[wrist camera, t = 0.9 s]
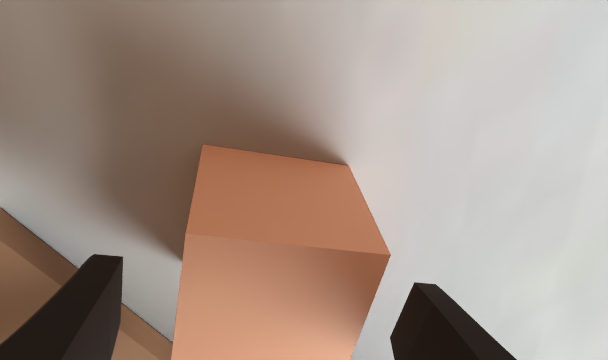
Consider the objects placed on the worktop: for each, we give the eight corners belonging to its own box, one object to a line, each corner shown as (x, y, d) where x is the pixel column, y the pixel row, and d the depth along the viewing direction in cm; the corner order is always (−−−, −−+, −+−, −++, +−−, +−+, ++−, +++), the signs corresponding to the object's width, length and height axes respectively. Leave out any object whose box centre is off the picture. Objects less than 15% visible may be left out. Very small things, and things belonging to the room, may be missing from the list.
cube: (348, 164, 14) (390, 255, 10) (315, 274, 16) (340, 385, 12) (203, 143, 13) (185, 233, 9) (188, 262, 15) (168, 379, 11)
